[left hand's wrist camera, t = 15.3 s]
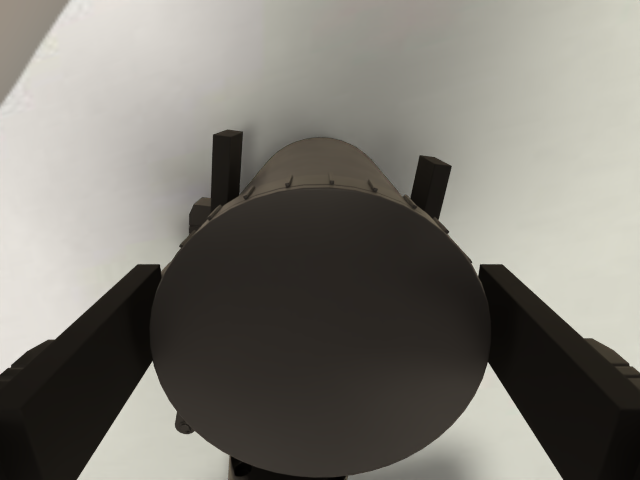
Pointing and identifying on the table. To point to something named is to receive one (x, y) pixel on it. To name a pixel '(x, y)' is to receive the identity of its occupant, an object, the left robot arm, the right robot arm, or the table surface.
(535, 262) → the table surface
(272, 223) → the lid
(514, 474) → the table surface
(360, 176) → the jar
